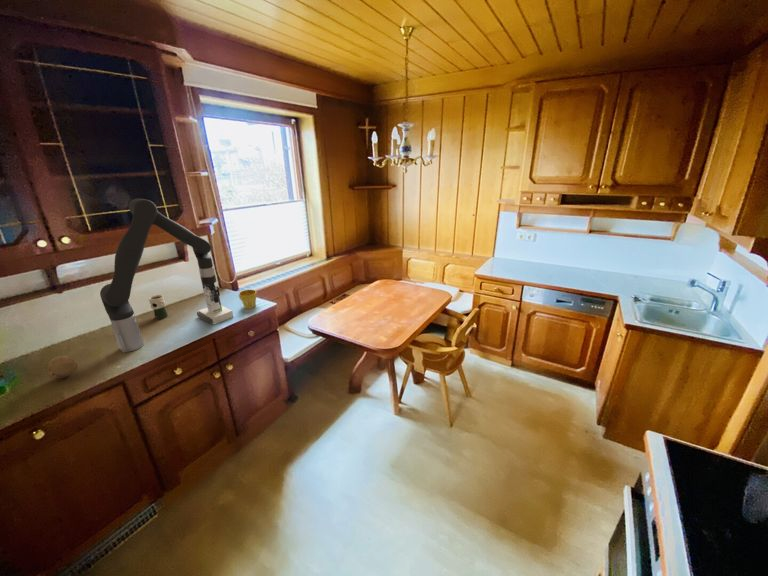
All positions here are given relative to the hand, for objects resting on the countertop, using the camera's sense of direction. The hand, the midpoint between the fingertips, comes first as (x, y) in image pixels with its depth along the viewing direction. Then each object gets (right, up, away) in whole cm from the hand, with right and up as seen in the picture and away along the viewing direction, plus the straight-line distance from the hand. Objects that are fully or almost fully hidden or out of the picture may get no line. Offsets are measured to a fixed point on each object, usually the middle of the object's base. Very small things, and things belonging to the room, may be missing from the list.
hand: (213, 300), depth 184 cm
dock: (0, -10, +4) cm, 11 cm away
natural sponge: (-37, -31, -48) cm, 68 cm away
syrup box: (0, -6, +3) cm, 7 cm away
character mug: (-32, -10, +3) cm, 34 cm away
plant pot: (+14, -5, +17) cm, 23 cm away
